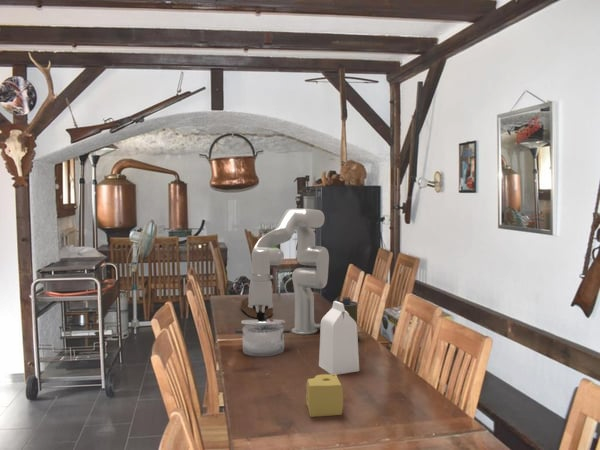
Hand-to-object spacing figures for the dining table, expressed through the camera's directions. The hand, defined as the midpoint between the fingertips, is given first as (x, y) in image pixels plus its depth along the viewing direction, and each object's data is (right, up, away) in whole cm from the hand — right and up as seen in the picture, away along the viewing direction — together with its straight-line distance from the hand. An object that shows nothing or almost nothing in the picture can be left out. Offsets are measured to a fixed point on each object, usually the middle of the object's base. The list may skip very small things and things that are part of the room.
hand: (260, 321), depth 229 cm
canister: (+38, -13, +21) cm, 46 cm away
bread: (-8, -10, +81) cm, 82 cm away
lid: (+1, -2, +6) cm, 7 cm away
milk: (+32, -15, -18) cm, 40 cm away
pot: (+1, -14, +7) cm, 15 cm away
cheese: (+24, -18, -58) cm, 66 cm away
